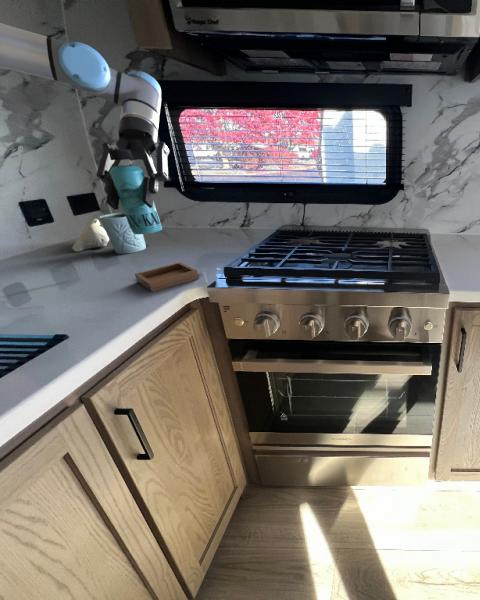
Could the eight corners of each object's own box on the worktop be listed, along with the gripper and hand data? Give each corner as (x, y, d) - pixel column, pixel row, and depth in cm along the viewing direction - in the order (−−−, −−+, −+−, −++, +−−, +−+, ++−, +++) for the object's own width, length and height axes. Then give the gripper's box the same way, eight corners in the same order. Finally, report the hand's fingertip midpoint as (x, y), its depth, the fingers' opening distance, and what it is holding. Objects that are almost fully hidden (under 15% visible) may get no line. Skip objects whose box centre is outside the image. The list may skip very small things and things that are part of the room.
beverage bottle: (133, 237, 83) (99, 149, 74) (164, 232, 87) (135, 148, 78) (135, 242, 78) (99, 149, 70) (168, 236, 82) (137, 148, 73)
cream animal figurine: (100, 258, 113) (124, 223, 119) (73, 246, 108) (100, 210, 113) (90, 264, 122) (113, 231, 128) (65, 253, 117) (89, 219, 123)
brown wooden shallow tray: (137, 281, 88) (134, 273, 87) (182, 269, 95) (180, 262, 94) (152, 292, 81) (148, 283, 80) (199, 278, 89) (196, 270, 88)
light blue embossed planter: (112, 249, 115) (98, 215, 110) (147, 243, 121) (135, 210, 116) (115, 256, 108) (99, 219, 103) (152, 249, 114) (139, 214, 109)
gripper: (188, 138, 88) (184, 211, 81) (106, 139, 85) (94, 217, 78) (174, 113, 81) (167, 192, 74) (83, 115, 78) (67, 197, 71)
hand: (130, 204), depth 76 cm, fingers closed on beverage bottle, 7 cm apart
